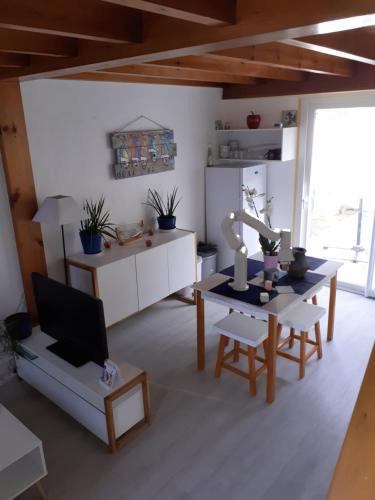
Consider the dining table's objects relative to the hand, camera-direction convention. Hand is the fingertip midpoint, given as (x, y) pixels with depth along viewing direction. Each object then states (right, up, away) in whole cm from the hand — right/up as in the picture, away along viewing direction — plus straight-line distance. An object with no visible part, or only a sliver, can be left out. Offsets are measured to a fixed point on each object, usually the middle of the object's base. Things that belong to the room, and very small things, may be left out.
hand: (284, 268), depth 308 cm
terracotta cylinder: (-11, -16, +9) cm, 21 cm away
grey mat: (+1, -17, +6) cm, 18 cm away
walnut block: (0, -1, 0) cm, 1 cm away
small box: (-6, -12, +23) cm, 26 cm away
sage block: (-17, -23, -10) cm, 30 cm away
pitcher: (+17, -8, +31) cm, 36 cm away
